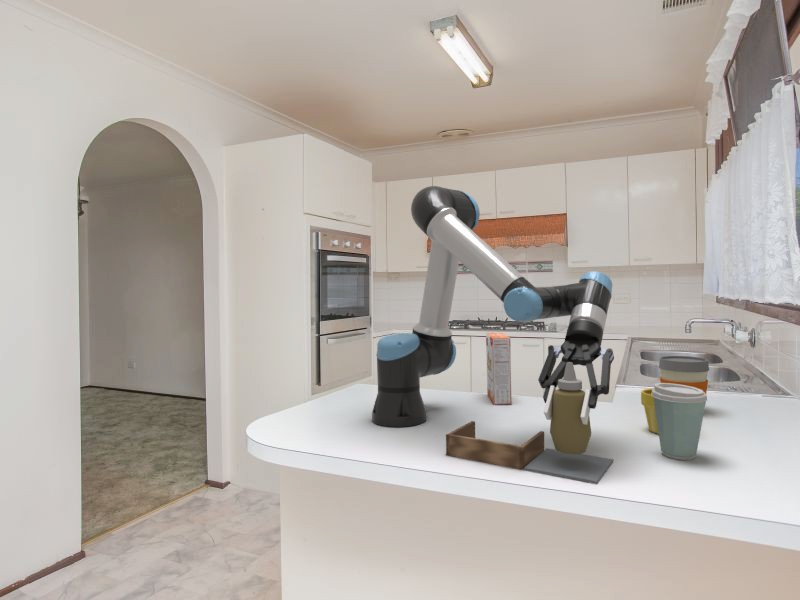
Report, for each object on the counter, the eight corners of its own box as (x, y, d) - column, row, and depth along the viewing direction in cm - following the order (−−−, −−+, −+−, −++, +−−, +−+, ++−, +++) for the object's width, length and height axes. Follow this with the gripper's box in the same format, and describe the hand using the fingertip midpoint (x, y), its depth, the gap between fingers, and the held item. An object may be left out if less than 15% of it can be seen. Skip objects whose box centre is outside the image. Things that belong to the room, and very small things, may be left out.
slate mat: (524, 470, 104) (524, 467, 104) (546, 450, 116) (546, 448, 116) (596, 484, 96) (596, 481, 96) (613, 461, 108) (613, 459, 108)
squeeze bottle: (594, 457, 101) (593, 366, 101) (551, 456, 103) (550, 365, 102) (588, 445, 109) (587, 359, 109) (548, 443, 111) (547, 359, 110)
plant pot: (683, 427, 132) (683, 389, 132) (692, 439, 122) (692, 397, 122) (639, 424, 135) (638, 387, 135) (643, 435, 126) (643, 395, 125)
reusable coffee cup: (688, 419, 139) (688, 363, 139) (648, 409, 151) (648, 357, 150) (719, 413, 144) (719, 360, 144) (678, 404, 156) (678, 354, 155)
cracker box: (486, 395, 173) (485, 332, 172) (504, 395, 173) (503, 332, 172) (492, 405, 159) (491, 337, 158) (512, 405, 159) (511, 336, 158)
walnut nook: (446, 454, 114) (445, 434, 114) (472, 439, 125) (472, 420, 125) (523, 469, 104) (523, 447, 104) (544, 451, 115) (544, 431, 115)
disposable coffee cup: (695, 448, 116) (695, 381, 115) (716, 465, 105) (717, 391, 104) (644, 446, 117) (644, 380, 117) (660, 463, 107) (660, 390, 106)
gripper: (635, 341, 113) (620, 435, 100) (546, 338, 123) (522, 422, 110) (630, 319, 108) (614, 414, 95) (538, 317, 119) (513, 402, 106)
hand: (565, 418), depth 103 cm, fingers closed on squeeze bottle, 6 cm apart
